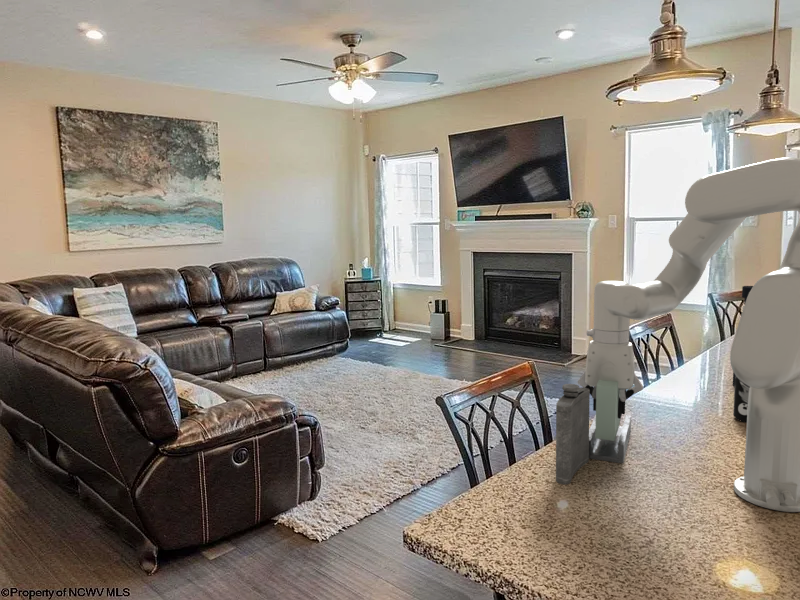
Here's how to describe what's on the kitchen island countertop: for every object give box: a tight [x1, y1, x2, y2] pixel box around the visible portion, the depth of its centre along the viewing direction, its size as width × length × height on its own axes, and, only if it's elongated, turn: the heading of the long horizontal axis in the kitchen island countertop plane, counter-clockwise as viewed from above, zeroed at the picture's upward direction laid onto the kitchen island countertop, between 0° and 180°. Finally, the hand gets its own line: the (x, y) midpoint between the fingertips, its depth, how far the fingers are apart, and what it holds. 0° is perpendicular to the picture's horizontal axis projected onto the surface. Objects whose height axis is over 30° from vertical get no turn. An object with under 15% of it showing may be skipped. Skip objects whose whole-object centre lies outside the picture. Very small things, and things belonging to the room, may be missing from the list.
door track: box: [589, 414, 632, 464], centre depth 131 cm, size 20×8×4 cm, turn 154°
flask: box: [555, 383, 591, 485], centre depth 117 cm, size 4×14×18 cm, turn 145°
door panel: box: [595, 380, 622, 441], centre depth 130 cm, size 14×4×12 cm, turn 154°
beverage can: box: [733, 376, 750, 424], centre depth 144 cm, size 7×7×12 cm
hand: (608, 414), depth 131 cm, fingers closed on door panel, 4 cm apart
